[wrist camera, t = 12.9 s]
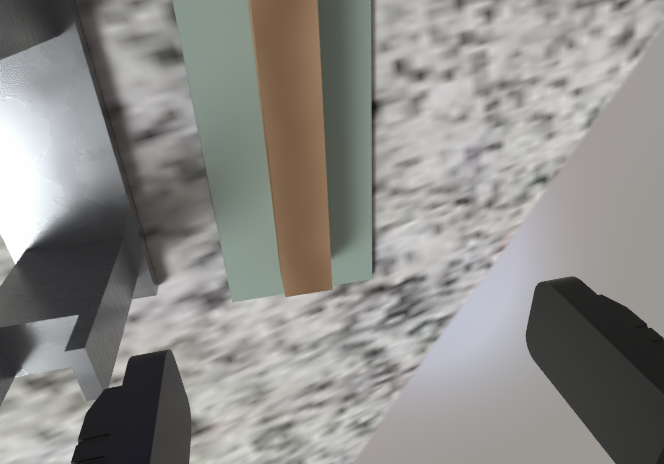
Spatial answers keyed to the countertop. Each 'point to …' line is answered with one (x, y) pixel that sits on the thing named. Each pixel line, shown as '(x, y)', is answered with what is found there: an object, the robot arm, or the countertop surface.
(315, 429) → the countertop surface
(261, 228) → the mat
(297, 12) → the rail
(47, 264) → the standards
